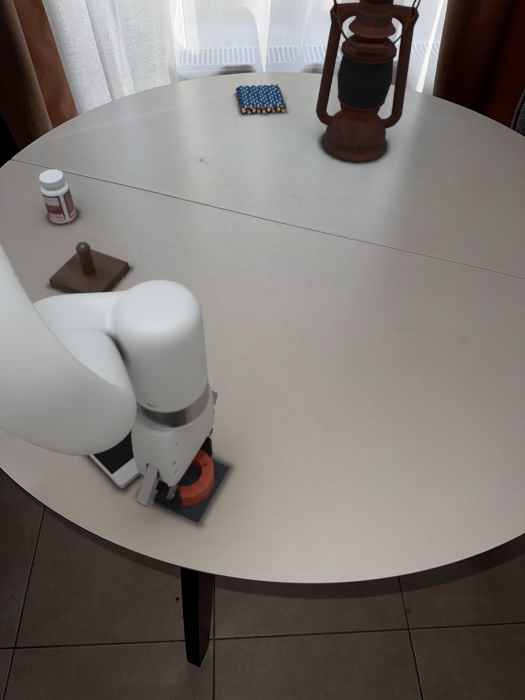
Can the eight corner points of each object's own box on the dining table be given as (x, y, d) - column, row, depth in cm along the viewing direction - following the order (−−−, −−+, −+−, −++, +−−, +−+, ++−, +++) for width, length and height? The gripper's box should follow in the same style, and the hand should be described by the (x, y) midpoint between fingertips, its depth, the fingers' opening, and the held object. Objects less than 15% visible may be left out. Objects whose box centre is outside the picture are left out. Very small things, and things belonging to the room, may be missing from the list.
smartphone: (121, 490, 70) (120, 486, 70) (50, 415, 77) (48, 410, 76) (166, 453, 74) (166, 449, 73) (94, 384, 80) (93, 380, 80)
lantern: (392, 129, 126) (425, -27, 103) (397, 165, 117) (434, 2, 94) (312, 125, 127) (327, -32, 104) (312, 160, 118) (328, -3, 95)
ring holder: (97, 304, 91) (88, 270, 85) (51, 286, 93) (38, 252, 87) (129, 269, 96) (122, 235, 90) (84, 253, 98) (75, 218, 93)
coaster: (197, 523, 68) (197, 521, 68) (139, 495, 70) (139, 494, 70) (229, 468, 73) (228, 466, 73) (173, 443, 75) (173, 442, 75)
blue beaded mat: (287, 113, 130) (287, 104, 128) (240, 115, 129) (240, 106, 127) (279, 91, 136) (280, 82, 135) (235, 93, 135) (234, 84, 134)
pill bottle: (68, 204, 107) (57, 164, 100) (81, 217, 104) (70, 177, 98) (44, 214, 105) (31, 174, 98) (57, 227, 102) (44, 187, 96)
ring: (197, 515, 68) (195, 506, 67) (147, 492, 70) (145, 482, 68) (223, 468, 72) (223, 459, 71) (176, 447, 74) (174, 438, 72)
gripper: (182, 320, 63) (193, 411, 77) (85, 446, 53) (119, 525, 67) (244, 343, 61) (244, 432, 75) (156, 478, 51) (176, 553, 65)
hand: (185, 476), depth 70 cm, fingers closed on ring, 6 cm apart
